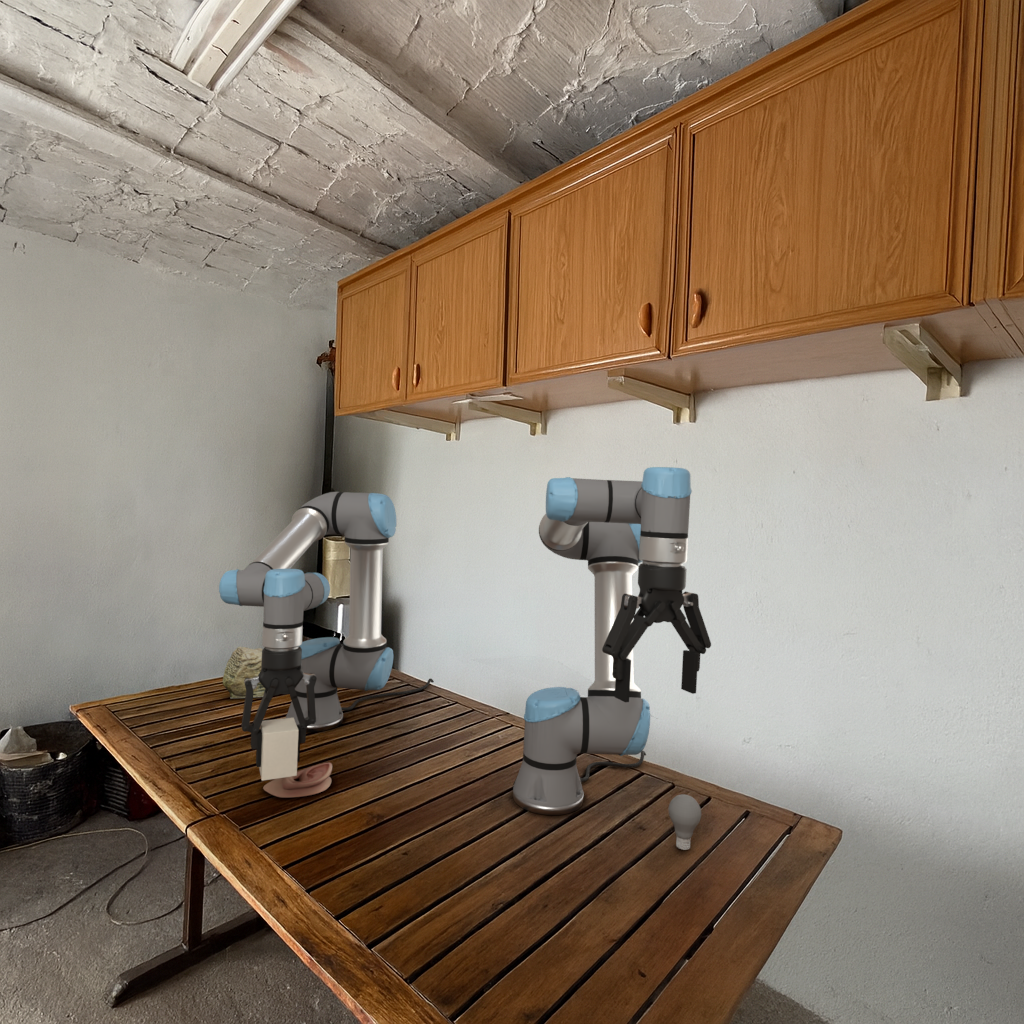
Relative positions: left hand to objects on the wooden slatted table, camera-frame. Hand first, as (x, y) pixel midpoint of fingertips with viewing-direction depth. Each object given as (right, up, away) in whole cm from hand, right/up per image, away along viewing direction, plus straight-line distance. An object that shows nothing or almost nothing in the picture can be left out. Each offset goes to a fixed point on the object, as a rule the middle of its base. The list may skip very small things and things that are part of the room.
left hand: (277, 761), depth 127 cm
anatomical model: (0, -10, +11) cm, 15 cm away
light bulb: (+79, -14, -7) cm, 81 cm away
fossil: (-34, -7, +71) cm, 79 cm away
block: (0, -2, 0) cm, 2 cm away
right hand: (+70, +20, -25) cm, 77 cm away
